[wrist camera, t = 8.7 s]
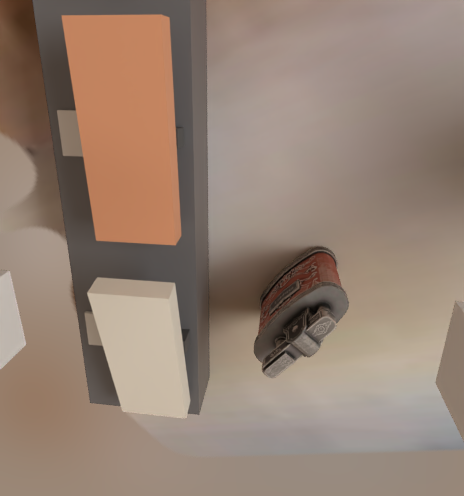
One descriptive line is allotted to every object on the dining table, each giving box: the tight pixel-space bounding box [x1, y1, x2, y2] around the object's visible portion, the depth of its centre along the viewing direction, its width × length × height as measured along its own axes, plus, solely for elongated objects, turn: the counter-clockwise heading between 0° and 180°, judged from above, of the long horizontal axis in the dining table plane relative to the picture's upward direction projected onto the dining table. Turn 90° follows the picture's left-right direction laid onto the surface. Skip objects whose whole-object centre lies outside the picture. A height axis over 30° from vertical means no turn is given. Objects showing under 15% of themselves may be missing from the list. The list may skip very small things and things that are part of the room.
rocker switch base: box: [32, 0, 209, 415], centre depth 28 cm, size 50×10×7 cm, turn 179°
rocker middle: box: [61, 14, 181, 245], centre depth 24 cm, size 13×5×2 cm, turn 179°
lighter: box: [254, 246, 349, 378], centre depth 30 cm, size 8×3×10 cm, turn 139°
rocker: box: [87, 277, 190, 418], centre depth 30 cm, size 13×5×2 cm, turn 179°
